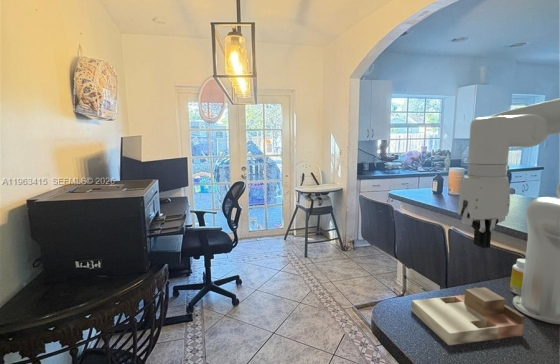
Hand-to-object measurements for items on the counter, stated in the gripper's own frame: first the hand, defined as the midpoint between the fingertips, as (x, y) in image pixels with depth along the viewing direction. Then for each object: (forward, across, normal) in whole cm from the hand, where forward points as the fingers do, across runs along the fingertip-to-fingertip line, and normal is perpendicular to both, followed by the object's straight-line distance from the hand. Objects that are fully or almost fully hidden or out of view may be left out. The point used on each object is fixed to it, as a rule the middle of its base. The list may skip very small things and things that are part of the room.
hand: (481, 245), depth 71 cm
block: (+18, -4, -2) cm, 19 cm away
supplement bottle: (+23, -26, -12) cm, 37 cm away
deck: (+21, +2, -2) cm, 21 cm away
